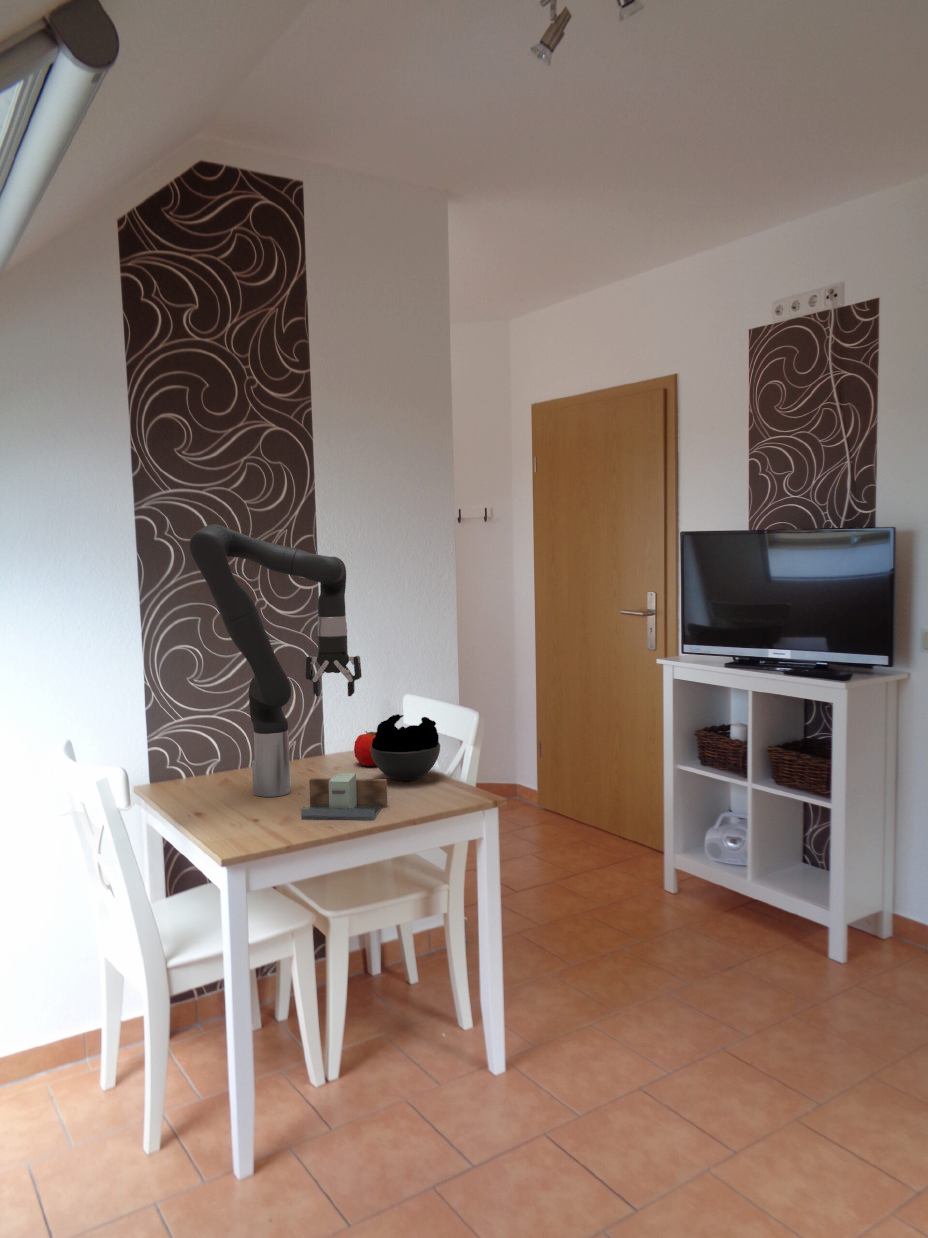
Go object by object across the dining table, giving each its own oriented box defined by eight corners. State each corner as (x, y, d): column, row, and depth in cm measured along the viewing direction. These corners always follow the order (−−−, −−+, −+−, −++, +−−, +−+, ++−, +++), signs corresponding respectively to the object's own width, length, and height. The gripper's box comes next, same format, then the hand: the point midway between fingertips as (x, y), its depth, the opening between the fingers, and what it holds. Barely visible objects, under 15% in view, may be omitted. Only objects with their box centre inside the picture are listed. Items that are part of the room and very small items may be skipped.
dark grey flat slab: (301, 819, 223) (301, 809, 222) (313, 806, 234) (313, 797, 233) (373, 820, 221) (373, 810, 220) (382, 807, 231) (382, 798, 231)
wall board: (310, 806, 234) (309, 779, 233) (311, 805, 235) (310, 778, 235) (386, 807, 231) (385, 780, 231) (387, 806, 233) (386, 779, 232)
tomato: (358, 760, 285) (357, 727, 285) (394, 760, 284) (393, 727, 283) (350, 769, 274) (349, 735, 273) (387, 769, 272) (386, 735, 272)
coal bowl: (358, 778, 262) (356, 714, 260) (416, 768, 273) (414, 706, 272) (395, 792, 246) (393, 724, 244) (454, 780, 257) (453, 715, 256)
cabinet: (328, 814, 224) (327, 782, 223) (337, 804, 232) (336, 773, 232) (348, 814, 223) (347, 782, 223) (356, 804, 232) (356, 773, 231)
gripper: (301, 635, 231) (303, 698, 232) (356, 635, 230) (357, 698, 231) (309, 632, 239) (311, 693, 240) (362, 632, 237) (364, 693, 238)
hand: (334, 695), depth 235 cm, fingers open, 8 cm apart
